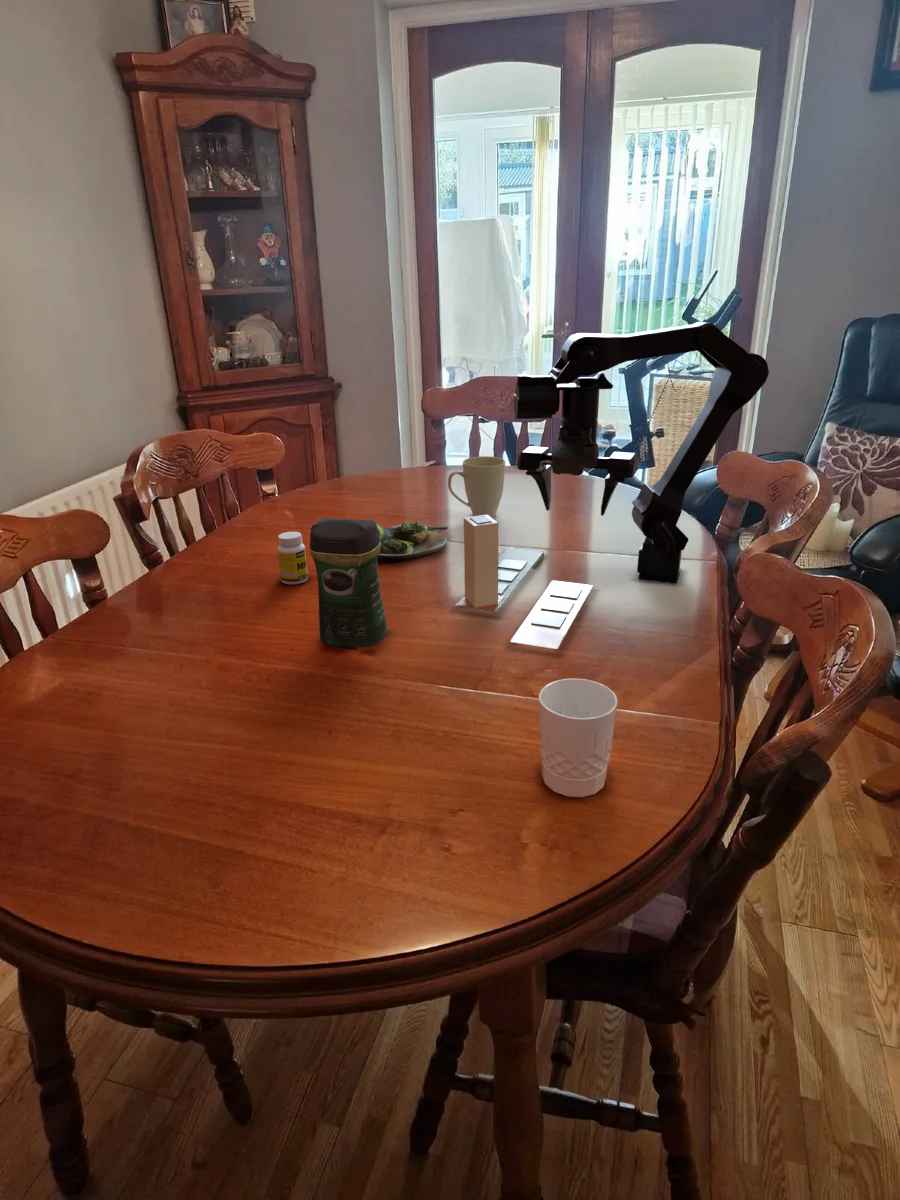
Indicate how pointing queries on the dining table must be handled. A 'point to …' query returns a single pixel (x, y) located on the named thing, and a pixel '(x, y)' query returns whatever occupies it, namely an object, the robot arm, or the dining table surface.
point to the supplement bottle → (292, 558)
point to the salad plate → (409, 541)
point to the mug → (482, 484)
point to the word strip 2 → (552, 615)
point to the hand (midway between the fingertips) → (575, 512)
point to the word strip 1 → (509, 574)
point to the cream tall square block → (481, 560)
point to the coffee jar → (348, 582)
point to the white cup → (576, 735)
